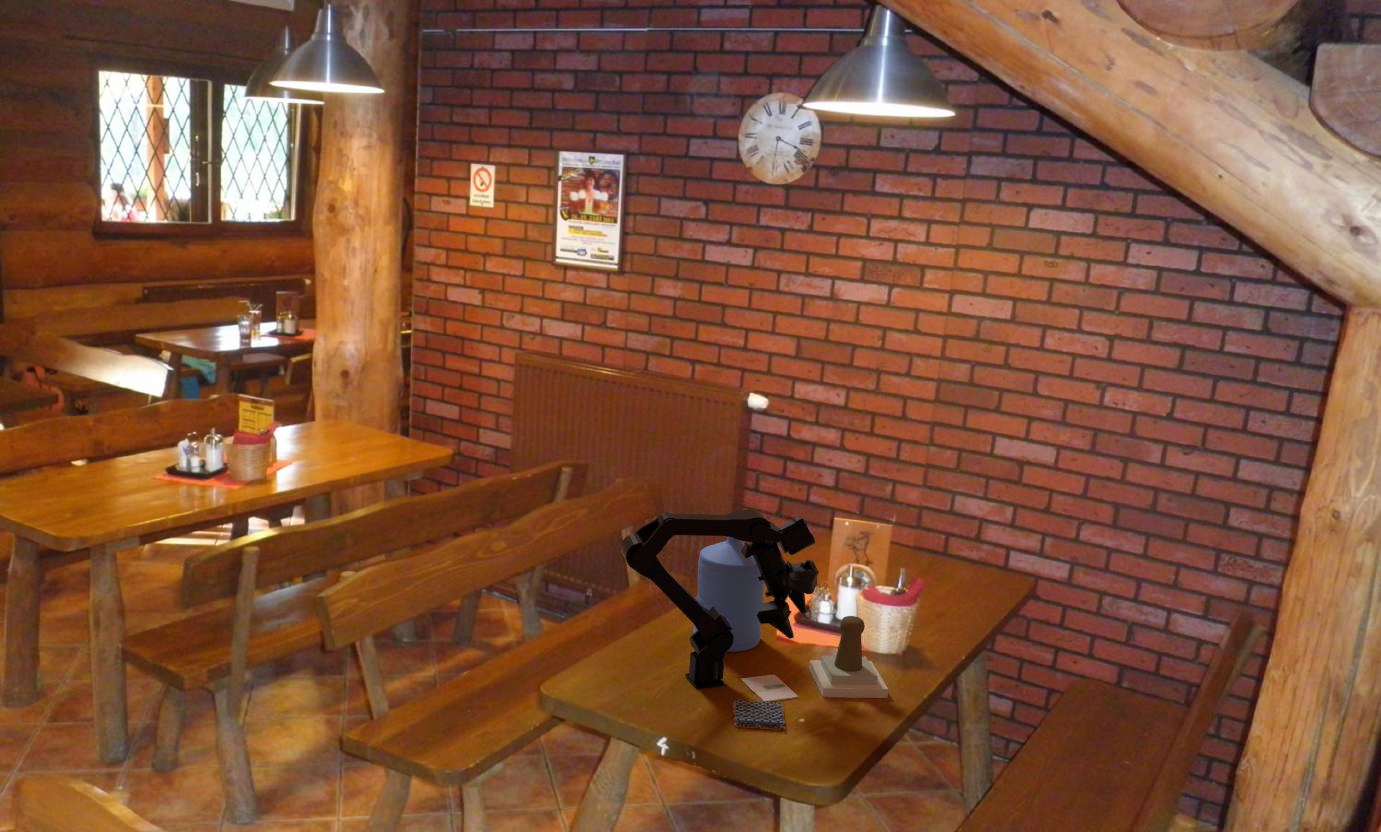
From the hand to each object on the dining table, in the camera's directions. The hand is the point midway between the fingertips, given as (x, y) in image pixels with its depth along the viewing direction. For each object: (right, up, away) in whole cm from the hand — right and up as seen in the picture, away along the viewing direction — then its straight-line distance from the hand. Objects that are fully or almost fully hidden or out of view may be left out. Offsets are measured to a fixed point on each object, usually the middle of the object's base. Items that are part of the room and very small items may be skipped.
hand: (798, 625), depth 253 cm
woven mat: (-9, -16, -16) cm, 25 cm away
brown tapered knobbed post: (+11, -9, +1) cm, 14 cm away
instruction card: (-6, -13, -3) cm, 15 cm away
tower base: (+11, -13, +2) cm, 17 cm away
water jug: (-15, -7, +21) cm, 26 cm away
